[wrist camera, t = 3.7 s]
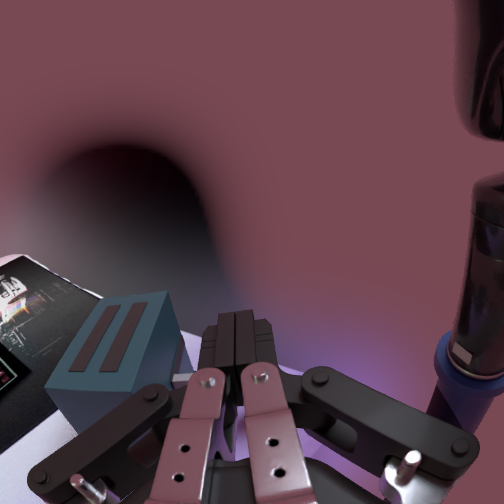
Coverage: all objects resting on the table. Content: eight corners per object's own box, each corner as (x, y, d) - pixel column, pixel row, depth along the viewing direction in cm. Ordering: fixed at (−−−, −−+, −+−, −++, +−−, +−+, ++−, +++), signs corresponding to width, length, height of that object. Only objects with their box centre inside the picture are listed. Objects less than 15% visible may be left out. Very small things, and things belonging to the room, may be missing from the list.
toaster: (197, 374, 36) (169, 288, 31) (184, 475, 22) (132, 392, 18) (134, 377, 36) (99, 296, 31) (105, 469, 23) (40, 387, 18)
